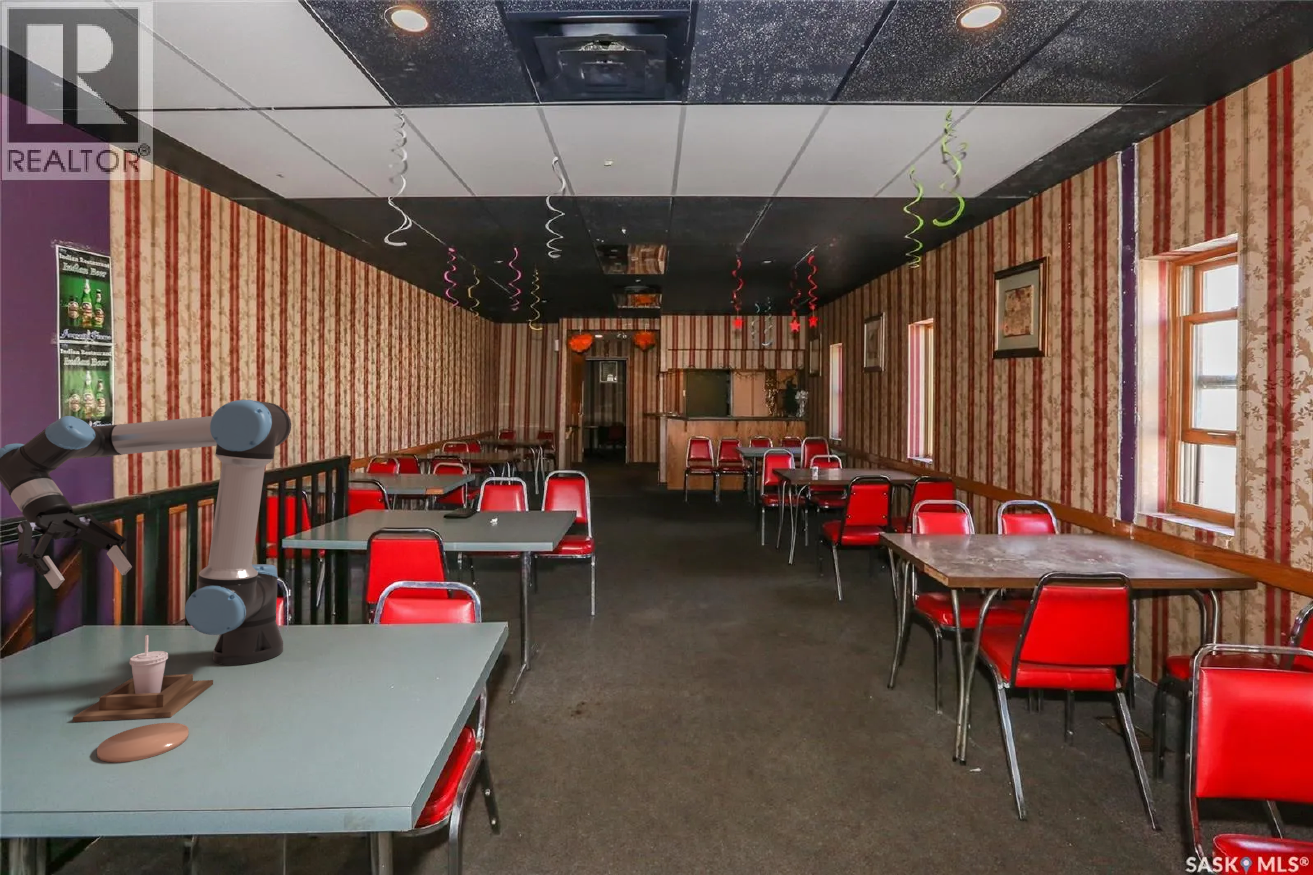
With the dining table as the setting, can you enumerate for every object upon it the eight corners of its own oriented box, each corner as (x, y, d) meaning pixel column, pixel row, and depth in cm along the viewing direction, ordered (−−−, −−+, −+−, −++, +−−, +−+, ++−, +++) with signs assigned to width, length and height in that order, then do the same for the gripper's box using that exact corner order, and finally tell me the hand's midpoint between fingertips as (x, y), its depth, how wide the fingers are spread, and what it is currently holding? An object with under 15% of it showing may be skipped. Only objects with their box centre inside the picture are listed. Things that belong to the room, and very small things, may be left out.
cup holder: (213, 684, 144) (213, 668, 144) (170, 717, 128) (171, 699, 128) (127, 688, 141) (128, 672, 141) (72, 722, 125) (73, 704, 125)
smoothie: (142, 695, 137) (144, 630, 137) (174, 695, 138) (175, 630, 138) (120, 708, 131) (122, 640, 131) (153, 708, 132) (155, 640, 132)
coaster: (202, 726, 124) (202, 721, 124) (163, 759, 111) (164, 753, 111) (126, 730, 122) (126, 724, 122) (78, 764, 109) (78, 759, 109)
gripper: (94, 509, 154) (142, 576, 151) (-39, 522, 129) (15, 602, 126) (112, 488, 153) (161, 555, 149) (-19, 497, 128) (37, 578, 125)
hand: (94, 577), depth 138 cm, fingers open, 13 cm apart
